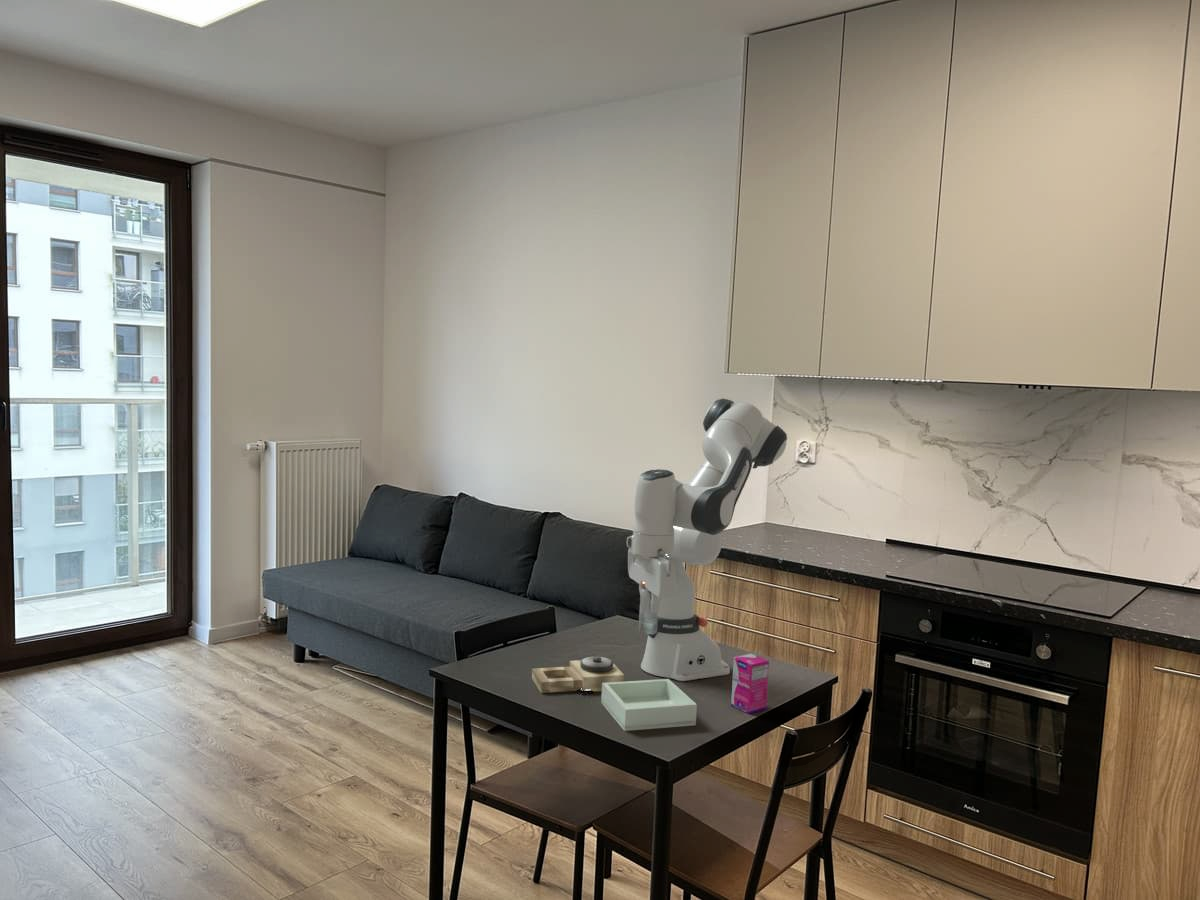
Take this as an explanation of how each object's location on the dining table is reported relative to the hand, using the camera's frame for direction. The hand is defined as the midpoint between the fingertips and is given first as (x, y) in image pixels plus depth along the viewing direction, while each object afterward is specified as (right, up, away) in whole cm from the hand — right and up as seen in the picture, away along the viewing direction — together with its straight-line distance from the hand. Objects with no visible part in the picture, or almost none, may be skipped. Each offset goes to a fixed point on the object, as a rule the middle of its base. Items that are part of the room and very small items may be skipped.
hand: (649, 608), depth 189 cm
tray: (0, -23, +1) cm, 23 cm away
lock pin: (0, -5, 0) cm, 5 cm away
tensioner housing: (-16, -21, +18) cm, 32 cm away
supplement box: (+23, -24, +8) cm, 34 cm away
